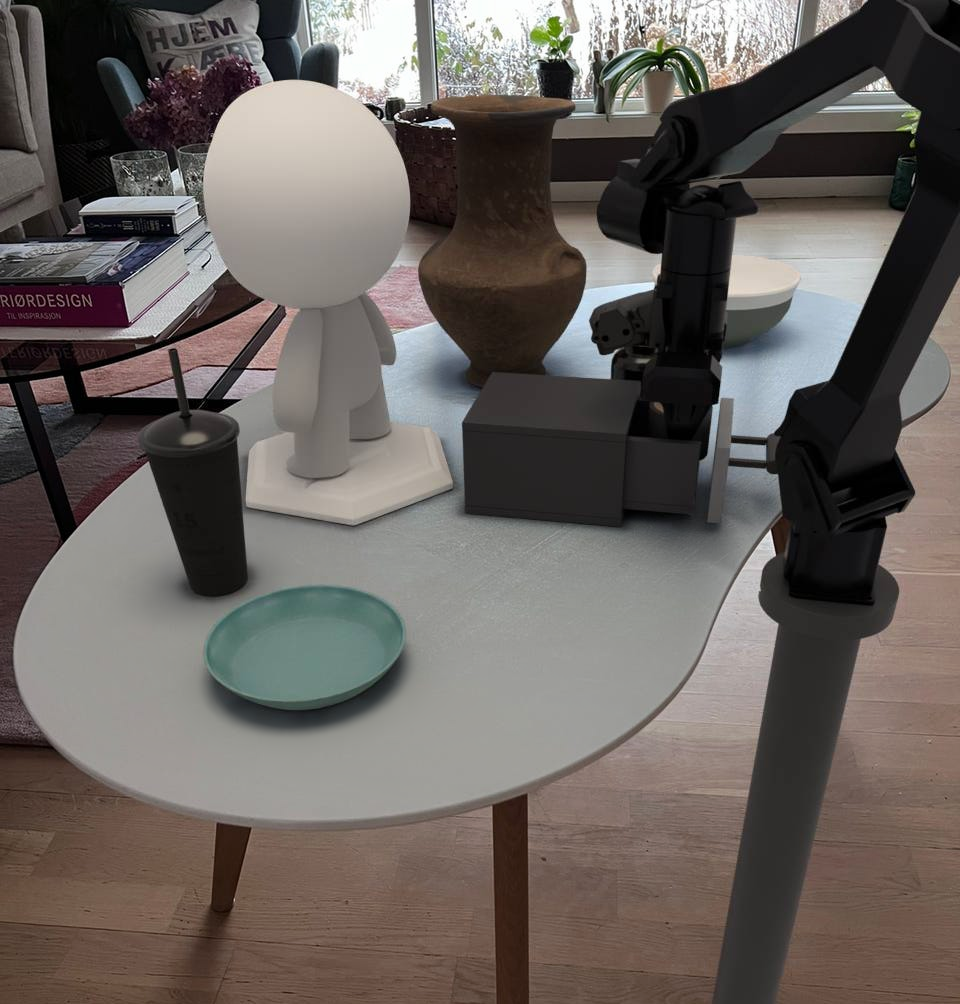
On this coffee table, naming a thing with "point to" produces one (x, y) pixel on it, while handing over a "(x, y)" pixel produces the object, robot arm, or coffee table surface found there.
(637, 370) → the supplement bottle
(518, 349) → the vase
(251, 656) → the saucer
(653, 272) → the bowl
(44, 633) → the coffee table surface
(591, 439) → the drawer cabinet
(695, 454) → the drawer
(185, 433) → the drinking cup
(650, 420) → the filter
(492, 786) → the coffee table surface
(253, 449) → the white cartoon figure
